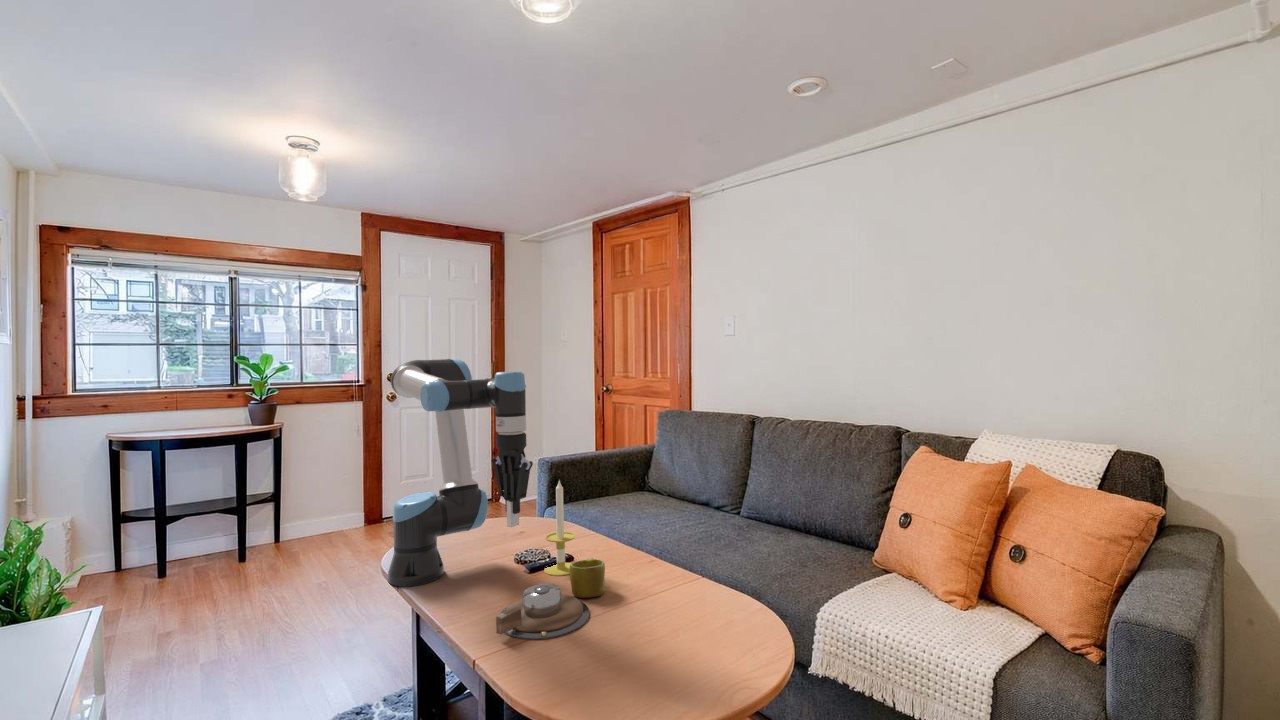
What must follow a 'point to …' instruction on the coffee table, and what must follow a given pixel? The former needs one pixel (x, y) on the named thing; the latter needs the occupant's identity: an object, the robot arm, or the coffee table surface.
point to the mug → (587, 578)
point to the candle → (559, 538)
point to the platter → (521, 622)
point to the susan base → (551, 634)
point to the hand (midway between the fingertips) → (513, 525)
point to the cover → (542, 600)
